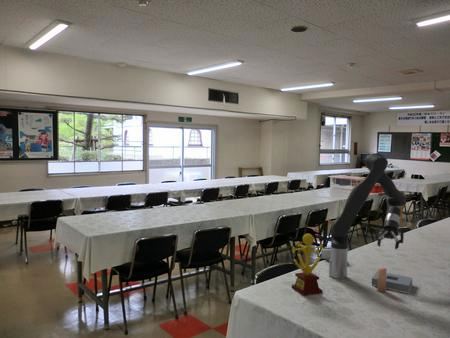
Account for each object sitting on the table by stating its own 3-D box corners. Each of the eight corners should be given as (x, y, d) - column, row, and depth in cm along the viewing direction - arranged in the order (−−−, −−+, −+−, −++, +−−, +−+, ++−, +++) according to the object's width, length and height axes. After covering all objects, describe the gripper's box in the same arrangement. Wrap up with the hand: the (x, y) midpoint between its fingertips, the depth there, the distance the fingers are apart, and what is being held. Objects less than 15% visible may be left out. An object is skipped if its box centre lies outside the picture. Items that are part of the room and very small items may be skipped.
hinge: (348, 262, 232) (346, 249, 230) (345, 266, 229) (343, 252, 226) (324, 256, 244) (322, 244, 241) (321, 260, 241) (319, 247, 238)
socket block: (371, 285, 192) (371, 278, 192) (377, 277, 204) (377, 271, 203) (408, 293, 182) (408, 285, 182) (412, 285, 193) (412, 277, 193)
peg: (376, 291, 184) (377, 268, 183) (378, 288, 187) (379, 266, 187) (384, 293, 182) (385, 270, 181) (386, 290, 185) (387, 268, 184)
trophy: (288, 293, 180) (289, 235, 178) (295, 283, 194) (296, 229, 192) (317, 298, 174) (318, 238, 172) (322, 287, 188) (323, 232, 187)
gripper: (377, 217, 204) (372, 241, 195) (405, 220, 195) (401, 245, 186) (379, 225, 208) (374, 248, 199) (406, 228, 200) (402, 253, 191)
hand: (387, 247), depth 193 cm, fingers open, 8 cm apart
